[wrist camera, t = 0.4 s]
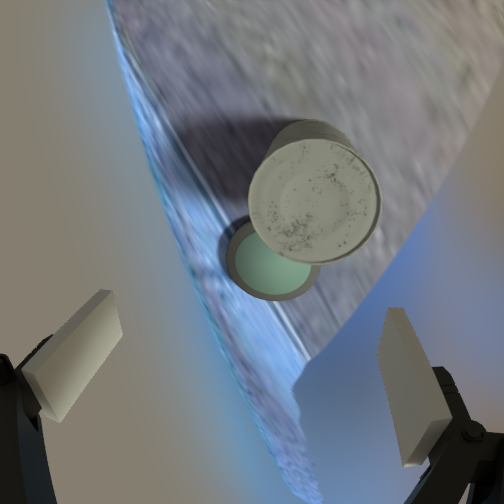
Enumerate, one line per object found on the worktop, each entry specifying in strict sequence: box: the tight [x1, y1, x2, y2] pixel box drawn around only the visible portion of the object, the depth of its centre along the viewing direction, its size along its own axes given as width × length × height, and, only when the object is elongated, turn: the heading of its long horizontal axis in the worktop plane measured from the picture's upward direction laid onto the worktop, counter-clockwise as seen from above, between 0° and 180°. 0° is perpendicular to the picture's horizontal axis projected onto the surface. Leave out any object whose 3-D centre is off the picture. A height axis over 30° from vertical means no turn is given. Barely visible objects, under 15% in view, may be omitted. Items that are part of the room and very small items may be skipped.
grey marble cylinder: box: [247, 120, 382, 265], centre depth 27 cm, size 10×10×12 cm
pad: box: [226, 219, 321, 301], centre depth 38 cm, size 11×11×2 cm
